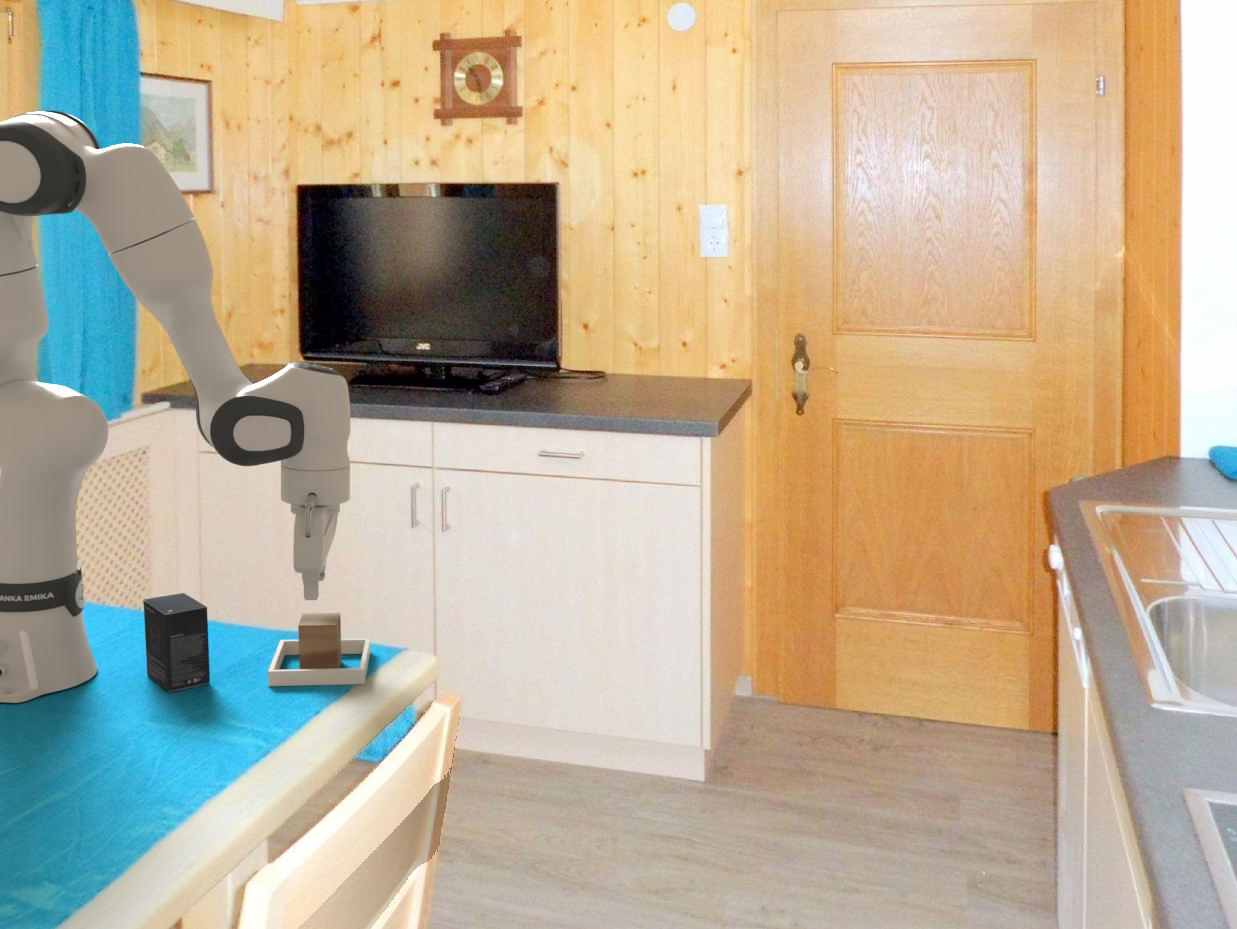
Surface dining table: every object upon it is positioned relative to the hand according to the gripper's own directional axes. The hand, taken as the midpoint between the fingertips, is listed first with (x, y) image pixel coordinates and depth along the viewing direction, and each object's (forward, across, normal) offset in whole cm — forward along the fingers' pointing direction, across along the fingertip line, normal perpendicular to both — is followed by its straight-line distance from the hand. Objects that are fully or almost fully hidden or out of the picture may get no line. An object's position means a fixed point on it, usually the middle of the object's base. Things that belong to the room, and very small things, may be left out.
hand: (314, 589), depth 177 cm
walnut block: (+11, 0, -1) cm, 11 cm away
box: (+12, -3, +17) cm, 21 cm away
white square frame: (+11, 0, -1) cm, 11 cm away
